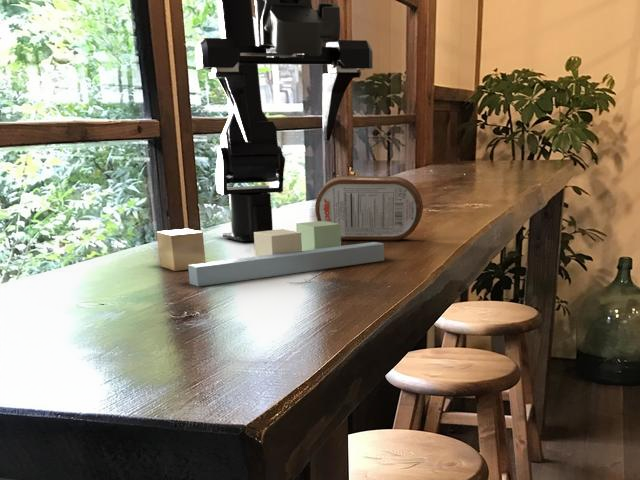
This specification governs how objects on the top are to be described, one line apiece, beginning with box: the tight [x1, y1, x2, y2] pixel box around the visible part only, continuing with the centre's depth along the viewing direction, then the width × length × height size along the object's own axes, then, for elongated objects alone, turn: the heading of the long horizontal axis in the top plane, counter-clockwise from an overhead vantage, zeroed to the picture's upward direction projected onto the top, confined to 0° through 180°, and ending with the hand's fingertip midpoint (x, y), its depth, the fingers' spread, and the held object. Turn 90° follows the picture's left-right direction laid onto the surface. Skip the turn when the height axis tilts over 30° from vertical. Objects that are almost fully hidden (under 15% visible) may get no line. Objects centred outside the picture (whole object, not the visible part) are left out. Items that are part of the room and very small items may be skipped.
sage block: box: [295, 220, 342, 251], centre depth 101 cm, size 4×4×4 cm
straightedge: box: [187, 241, 385, 288], centre depth 92 cm, size 2×25×2 cm, turn 127°
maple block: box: [156, 228, 207, 272], centre depth 95 cm, size 4×4×4 cm
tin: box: [314, 175, 424, 242], centre depth 112 cm, size 15×3×8 cm, turn 84°
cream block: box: [253, 228, 302, 257], centre depth 94 cm, size 4×4×4 cm
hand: (288, 141), depth 92 cm, fingers open, 9 cm apart
